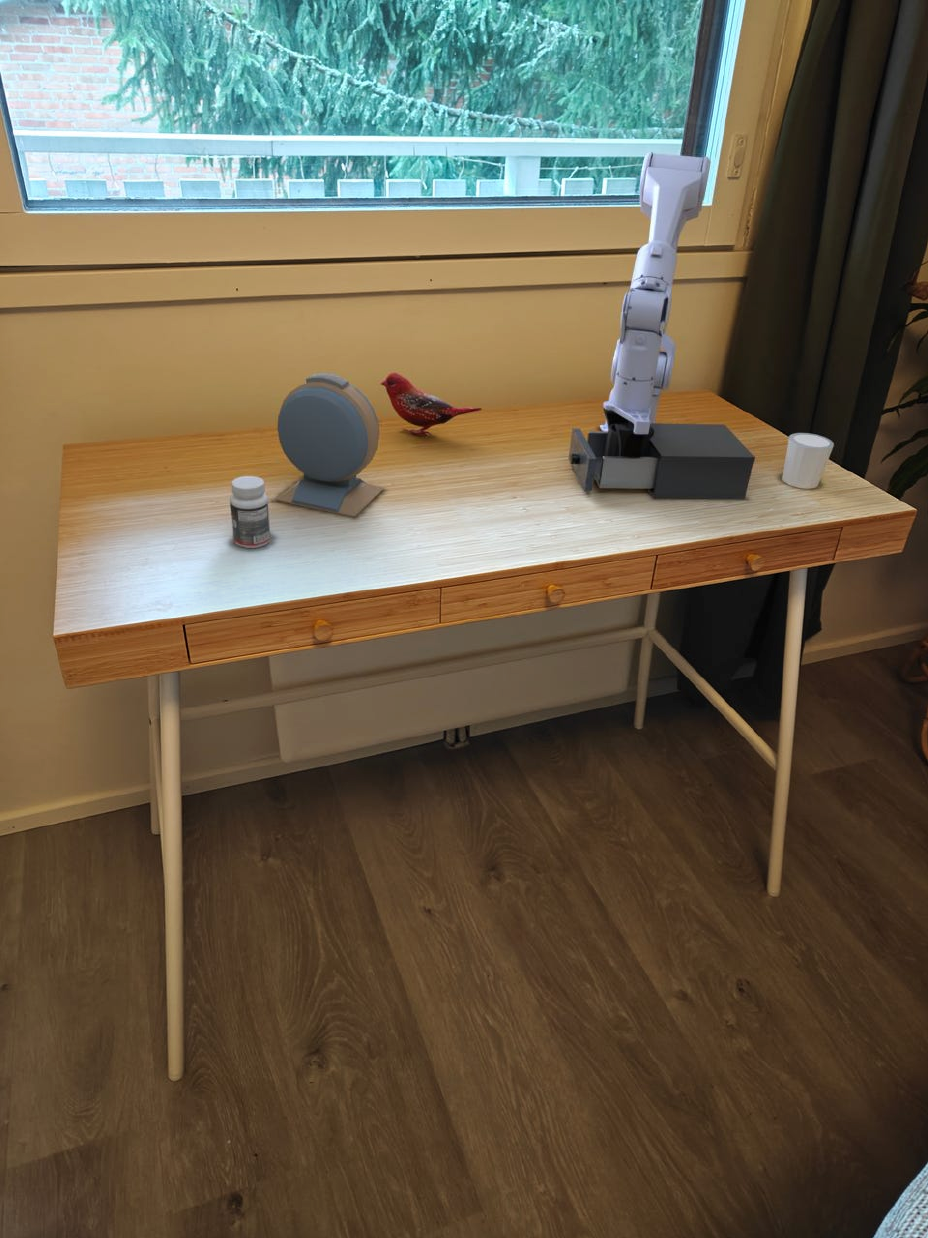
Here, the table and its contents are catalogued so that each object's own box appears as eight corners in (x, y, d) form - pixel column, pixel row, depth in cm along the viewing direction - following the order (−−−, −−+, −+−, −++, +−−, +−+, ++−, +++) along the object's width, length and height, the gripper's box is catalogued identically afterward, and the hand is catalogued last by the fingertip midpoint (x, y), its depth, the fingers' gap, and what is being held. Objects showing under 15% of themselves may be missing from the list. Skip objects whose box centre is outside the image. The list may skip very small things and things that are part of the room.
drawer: (576, 491, 134) (581, 458, 131) (561, 458, 144) (564, 428, 141) (670, 491, 135) (677, 459, 133) (648, 459, 146) (654, 429, 143)
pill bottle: (236, 531, 119) (230, 473, 114) (272, 532, 119) (268, 474, 115) (231, 549, 115) (225, 489, 110) (268, 549, 115) (264, 490, 111)
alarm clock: (388, 491, 132) (390, 373, 122) (361, 518, 124) (360, 394, 114) (302, 473, 135) (296, 357, 126) (269, 499, 128) (261, 377, 118)
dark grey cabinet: (653, 498, 135) (661, 455, 131) (631, 463, 146) (637, 422, 142) (744, 499, 137) (755, 457, 133) (715, 464, 148) (724, 424, 144)
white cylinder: (824, 492, 140) (837, 450, 137) (780, 486, 141) (791, 445, 138) (819, 475, 146) (831, 435, 142) (776, 470, 147) (786, 429, 143)
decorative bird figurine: (382, 425, 154) (383, 368, 149) (481, 441, 151) (485, 383, 145) (377, 431, 152) (377, 373, 146) (477, 447, 148) (481, 388, 143)
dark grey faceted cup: (598, 462, 141) (604, 422, 137) (630, 461, 142) (637, 422, 138) (609, 476, 136) (615, 436, 133) (642, 475, 137) (649, 435, 134)
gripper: (597, 359, 137) (586, 443, 144) (621, 390, 125) (607, 480, 132) (642, 360, 137) (628, 443, 145) (670, 391, 125) (653, 481, 133)
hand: (621, 461), depth 138 cm, fingers closed on dark grey faceted cup, 5 cm apart
